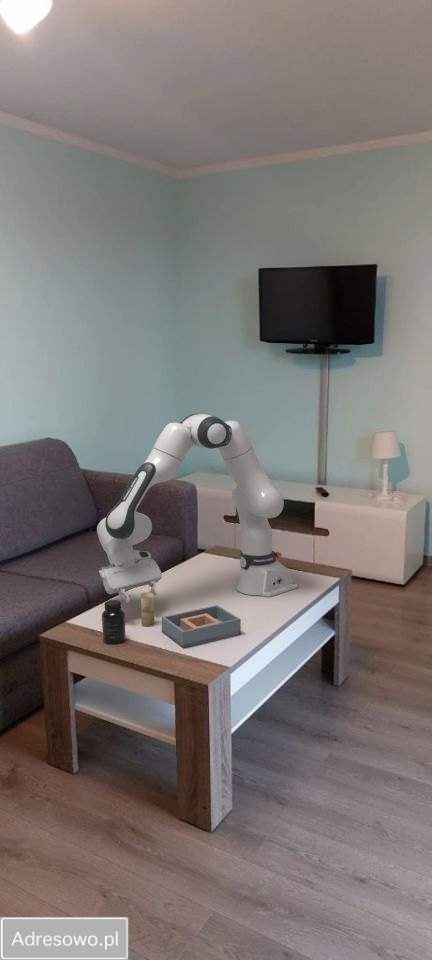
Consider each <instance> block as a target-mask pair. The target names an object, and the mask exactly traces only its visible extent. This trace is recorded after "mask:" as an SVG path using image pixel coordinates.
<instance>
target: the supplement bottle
mask: <svg viewBox="0 0 432 960" xmlns="http://www.w3.org/2000/svg"><path fill="white" fill-rule="evenodd" d="M101 622H102V623H101V624H102V625H101V626H102V627H101V628H102V629H101V630H102V641H103V642H104V643H106V644H108V645H117V644H121V643H123V642H124V641H126V615H125V611H124V610H123V609H122V602H121V600H118V599H109V600H107V601H105V602H104V611H102V614H101Z"/></svg>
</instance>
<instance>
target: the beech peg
mask: <svg viewBox="0 0 432 960" xmlns="http://www.w3.org/2000/svg"><path fill="white" fill-rule="evenodd" d="M154 597H155V596H154V594H153V593H150V591H149V592H148V591H147V592H142V593H141V594H140V607H141V609H140V611H141V612H140V613H141V614H140V615H141V618H140V619H141V626H142V627H147V628H149V627H153V626H154V625H155V604H154V603H155V601H154V599H155V598H154Z"/></svg>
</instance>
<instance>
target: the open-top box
mask: <svg viewBox="0 0 432 960" xmlns="http://www.w3.org/2000/svg"><path fill="white" fill-rule="evenodd" d="M241 621H242V620H241V618H240V617H238V616H236V615H235V614H233V613H231V612H230V611H228V610H226V609H225V608H223V607H221V606H220V605H219V604H216V605H212V606H205V607H202V608H201V607H200V608H198V609H192V610H188V611H184V612H183V611H182V612H179V613H173V614H169V615H164V616H161V633H162V634H163V635H165V636H166V637H168V638H169V639H170V640H171V641H173V642H174V643H176V644H177V645H178V646H179V647H180V648H181V649H185V648H191V647H194V646H198V645H203V644H206V643H210V642H215V641H219V640H222V639H226V638H227V639H228V638H232V637H235V636H240V635H241Z"/></svg>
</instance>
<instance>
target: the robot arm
mask: <svg viewBox="0 0 432 960" xmlns="http://www.w3.org/2000/svg"><path fill="white" fill-rule="evenodd" d="M194 446H196V447H200V448H206V449H209V450H210V449H218V450H219V452H220V456H221V458H222V460H223V462H224V464H225V466H226V467H225V468H226V470H227V472H228V474H229V476H230V478H231V480H233V482H234V483H235V485H234V487H233V488H232V492H231V499H232V501H233V503H234V504H235V507H236V511H237V516H238V519H239V520H238V521H239V524H240V533H241V535H240V537H241V539H240V540H241V548H240V549H241V550H240V551H239V553H240V554H239V563H240V564H239V565H240V572H239V579H238V584H237V587H236V590H237V591H238V592H239V593H241V594H245V595H249V596H263V597H267V598H268V597H269V598H270V597H271V598H272V597H275V596H278V595H280V594H283V593H286V592H289V591H292V590H295V589H298V583H297V582H296V581H295V580H293V579H292V574H291V571H290V570H289V568H287V567H286V566H284V565H283V564H282V563H281V562H279V561H278V560H277V559H281V558H282V553H281V552H279V551H274V550H273V529H272V527H271V525H270V523H269V520H268V519H274V518H276V517H278V516H279V515H280V514H281V513H282V512H283V509H284V507H285V506H284V505H285V504H284V503H285V501H284V498H283V496H282V494H280V493H279V492H278V490H277V489H276V488H275V486H274V485H273V483H272V481H271V479H270V478H269V477H268V475H267V473H266V472H265V470H264V469H263V467H262V466H261V464H260V462H259V459H258V457H257V454H256V451H255V450H254V448H253V445H252V442H251V440H250V438H249V436H248V433H246V431H245V429H244V428H243V426H242V425H241V423H240V422H239V421H237V420H226V421H224V420H223V419H221V418H220V417H218V416H214V415H210V414H206V413H204V414H202V413H192V414H189V415H187V416H186V417H185V418H183V420H181V421H180V422H170V423H168V424H167V425H165V427H164V428H163V429H162V430H161V433H160V434H159V435H158V437H157V439H156V441H155V442H154V445H153V447H152V448H151V451H150V453H149V455H148V456H147V458H146V459H145V460H144V462H143V463H142V464H141V465H140V466H139V467H138V468H137V470H136V471H135V473H134V474H133V476H132V478H131V479H130V481H129V483H128V484H127V486H126V487H125V490H124V491H123V493H122V495H121V496H120V498H119V500H118V501H117V502H116V504H114V506H112V508H111V509H110V510H109V511H108V513H107V514H106V517H104V518H102V519H101V520H100V522H99V523H98V524H97V527H96V534H97V536H98V540H99V542H100V545H101V548H102V549H103V551H105V553H106V554H107V559H108V562H109V565H107V566H101V568H100V569H99V570H98V574H99V576H100V578H101V579H102V580H101V581H102V583H103V586H104V587H103V588H104V590H105V592H106V593H107V594H109V595H114V594H117V593H118V595H119V596H120V597H121V598H123V599H124V601H125V603H127V604H129V603H132V601H133V598H132V595H131V594H128V593H126V591H128V590H129V591H130V590H132V589H136V588H140V587H143V586H147V585H148V587H150V590H149V592H150V593H153V594H154V597H155V596H156V595H158V592H157V590H156V586H157V585H156V583H158V582H159V581H161V579H162V577H163V576H162V575H163V574H162V570H161V569H160V567H159V565H158V564H157V562H156V561H155V560H154V559H153V558H151V557H152V554H151V553H150V551H144V550H137V549H134V547H133V546H136V545H138V544H140V543H142V542H144V541H146V540H147V539H149V538H150V536H151V534H152V531H153V522H152V520H151V518H150V517H149V516H148V515H146V514H144V513H141V512H138V511H137V509H138V507H139V506H140V504H141V502H142V500H143V498H144V497H145V495H147V494H146V493H147V492H148V490H150V488H152V487H153V486H154V485H156V484H159V483H164V482H169V481H170V480H173V479H174V478H175V477H176V476H177V475H178V473H179V471H180V470H181V468H182V466H183V463H184V461H185V458H186V456H187V454H188V452H189V451H190V450H191V449H192V448H193V447H194ZM276 558H277V559H276Z"/></svg>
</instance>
